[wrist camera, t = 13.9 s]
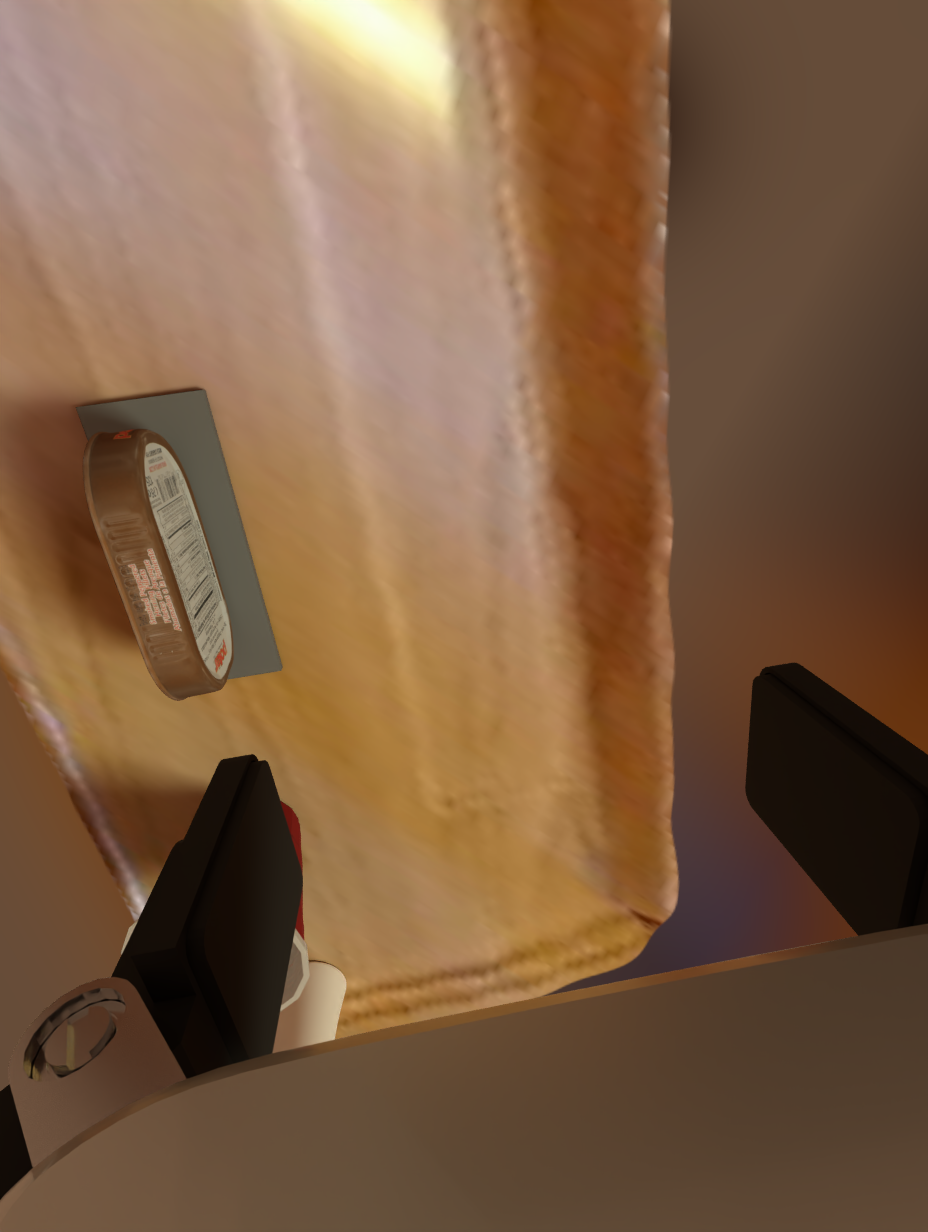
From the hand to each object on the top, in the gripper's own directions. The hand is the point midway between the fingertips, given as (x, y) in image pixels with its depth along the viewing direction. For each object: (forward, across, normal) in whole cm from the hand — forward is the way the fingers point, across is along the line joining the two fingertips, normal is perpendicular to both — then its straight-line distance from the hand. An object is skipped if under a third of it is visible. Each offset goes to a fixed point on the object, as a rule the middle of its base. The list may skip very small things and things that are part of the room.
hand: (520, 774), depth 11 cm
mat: (+28, +16, +1) cm, 32 cm away
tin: (+28, +15, +1) cm, 32 cm away
